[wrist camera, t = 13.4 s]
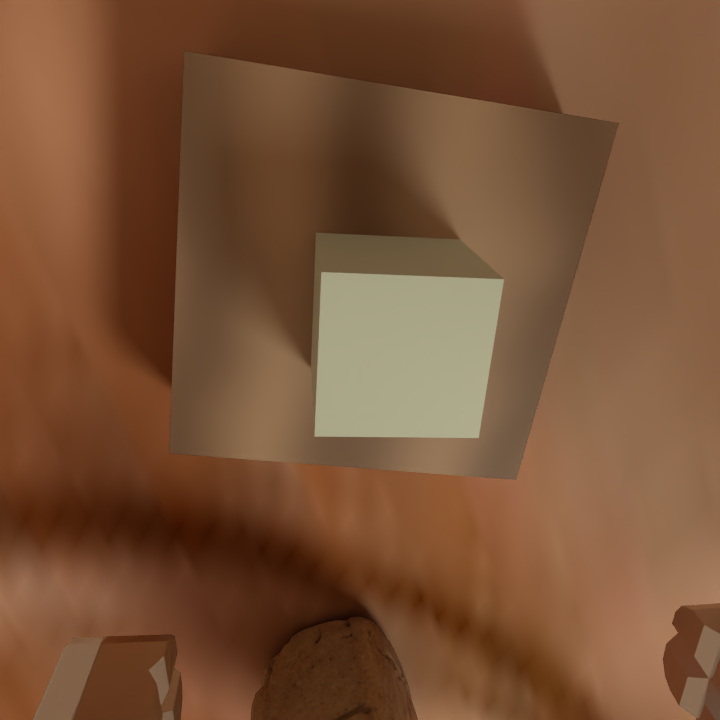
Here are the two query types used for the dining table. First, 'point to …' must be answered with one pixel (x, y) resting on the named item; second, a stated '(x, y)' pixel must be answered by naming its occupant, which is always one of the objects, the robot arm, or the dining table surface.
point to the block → (335, 676)
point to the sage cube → (401, 336)
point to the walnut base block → (360, 217)
